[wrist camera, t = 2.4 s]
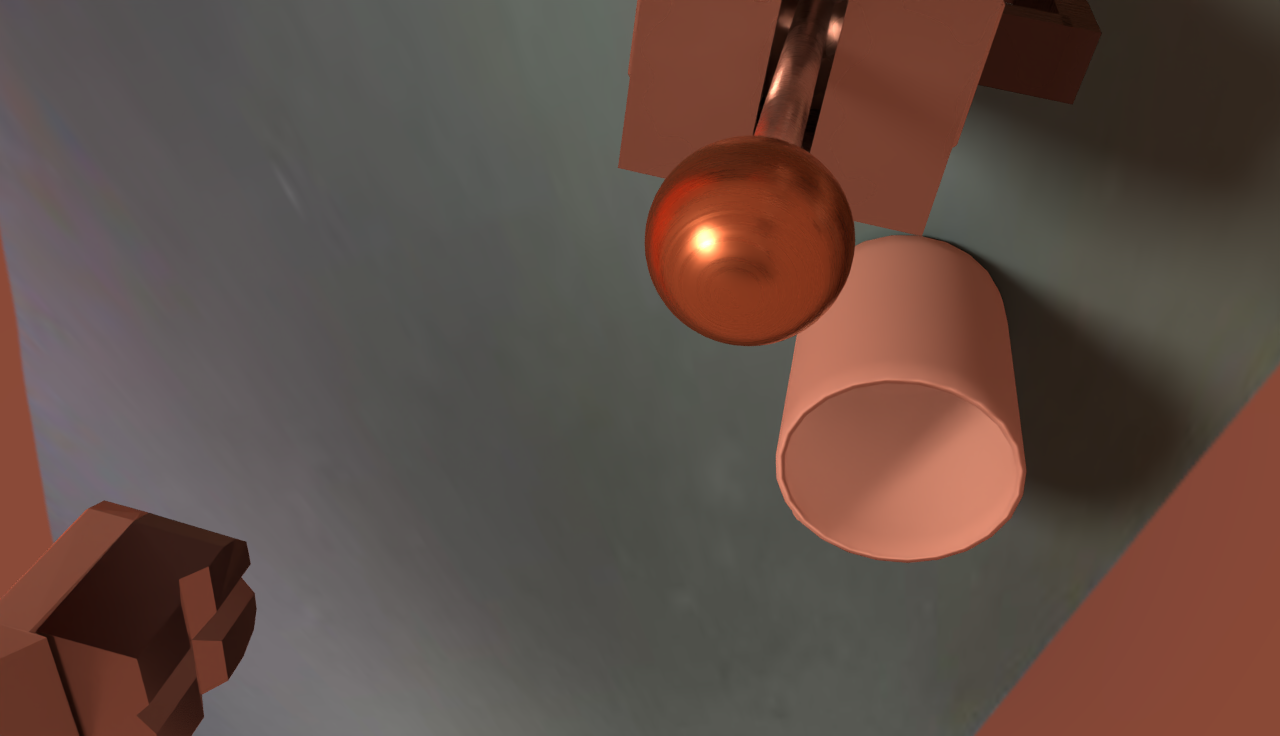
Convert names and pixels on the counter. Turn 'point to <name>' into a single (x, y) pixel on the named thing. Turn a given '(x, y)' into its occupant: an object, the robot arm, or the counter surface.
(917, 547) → the mug
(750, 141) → the copper ball on rod
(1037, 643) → the counter surface
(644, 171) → the press carafe
